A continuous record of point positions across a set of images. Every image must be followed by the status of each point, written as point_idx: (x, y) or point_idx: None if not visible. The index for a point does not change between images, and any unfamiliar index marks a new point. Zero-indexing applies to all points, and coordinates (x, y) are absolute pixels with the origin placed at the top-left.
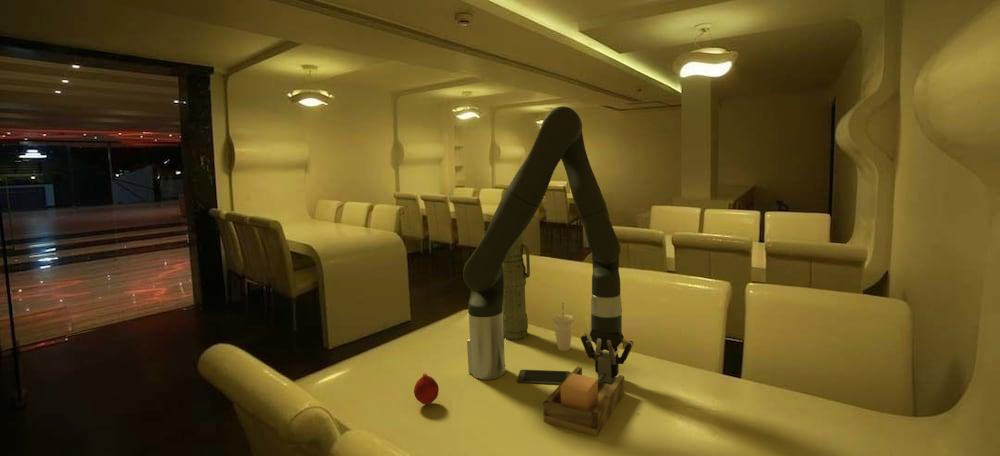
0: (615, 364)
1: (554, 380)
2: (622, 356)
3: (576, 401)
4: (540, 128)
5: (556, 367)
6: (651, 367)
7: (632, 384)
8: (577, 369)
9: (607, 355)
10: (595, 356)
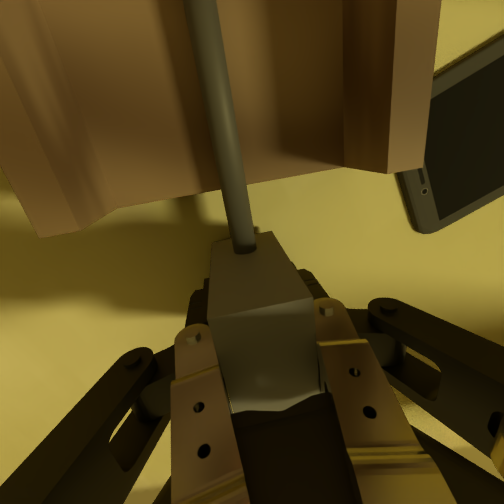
0: (184, 331)
1: (477, 92)
2: (100, 412)
3: None
4: None
5: (491, 240)
6: (161, 441)
7: (132, 303)
8: (407, 112)
9: (267, 377)
10: (346, 320)
